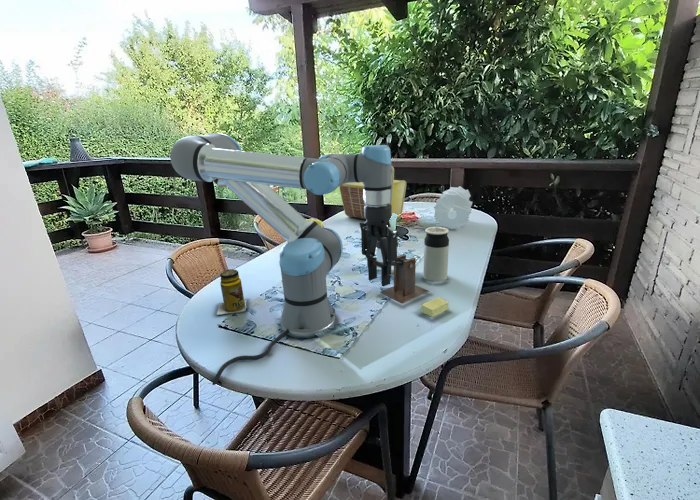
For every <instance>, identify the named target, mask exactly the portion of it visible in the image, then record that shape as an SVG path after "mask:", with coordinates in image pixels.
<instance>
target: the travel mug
mask: <svg viewBox="0 0 700 500" xmlns="http://www.w3.org/2000/svg"><path fill="white" fill-rule="evenodd" d="M424 231H425V233H426V235H425V237H424V241H423V273H422V274H423V275H422V277H423V278H424V279H425V280H426V281H430V282H438V283H439V282H444V281H446V280H447V279H448V271H449V269H448V268H449V249H450V239H449V236H448V233H449V232H450V231H449V228H447V227H444V228H443V226H429V227H427V228H425V230H424Z"/></svg>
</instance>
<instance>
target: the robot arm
mask: <svg viewBox="0 0 700 500" xmlns="http://www.w3.org/2000/svg"><path fill="white" fill-rule="evenodd" d="M391 153H392V152H391V148H390V146H389V145H387V144H373V145H372V144H371V145H370V144H369V145H364V146H363V147H362V148H361V153H330V154H322V155H320V156H319V157H318V158H314V157H313V158H312V157H304V156H302V157H301V156H293V155H285V154H284V155H282V154H273V153H263V152H254V151H243V150H242V148H241V146H240V144H239V143H238V141H236V139H235V138H233V137H231V136H230V135H229V134H224V133H219V132H212V133H207V134H199V135H198V134H197V135H187V136H184V137H182V138H179V139H178V140H177V141H176V142H174V144H173V145H172V147H171V149H170V153H169V154H170V155H169V159H170V163H171V166H172V168H173V169H174V171H175V172H176V173H177V174H178V175H179V176H180V177H182V178H184V179H186V180H189V181H198V182H206V183H211V182H213V183H214V184H215V185H216V186H217V187H219V188H228V189H229V191H231V192H232V194H234V195H235V196H236V197H237V198H238V199H240V200H241V201H242V202H243V203H244V204H245V205H246V206H248V207H249V208H250V210H252V211H253V212H254V213H255V214H256V215H257V216H259V218H261V220H263V221H264V222H265V223H266V224H267V225H268V226H269V227H270V228H272V229H273V230H274V231H275V232H276V233H277V234H279V235H280V236H281V237H282V238H283V239H284V240H285V241H286V242H287V243H285V244H284V245H282V247H281V248H280V251H279V262H278V263H279V268H280V274H281V282H282V283H281V284H282V290H283V299H284V303H283V307H282V312H281V316H280V320H279V321H280V328H281V329H280V330H281V331H282V332H281V333H280V334H279V335H278V336H276V337H275V338H274V339H273V340H272V341H271V342H270V343H269V344H268V346H267V347H266V349H265V350H264V351H263V352H262V353H259V354H257V355H256V354H255V355H237V356H235V357H233V358H231V359H229V360H227V361H226V362H224V363H223V364H222V365H221V366H220V367H219V369H218V371H217V372H216V374H215V376H214V378H213V381H212V383H211V385H212V386H215V385H217V384H218V382H219V380H220V378H221V375H222V374H223V372H224V370H225V369H226V368H228V366H230V365H232V364H234V363H237V362H239V361H256V360H260V359H263V358H265V357H266V356H268V355H269V353H270V351H271V350H272V348H273V347H274V346H275V345H276V344H277V343H278V342H279V341H280V340H281V339H283V338H284V337H286V336H289V337H291V338H295V339H312V338H317V337H318V335H317V334H319V333H322V332H324V331H327V330H328V329H329V328H331V327H332V326H333V325H334V323H335V322H336V309H335V308H334V307H333V305H332V304H331V302H330V299H329V297H328V290H327V287H328V286H327V276H328V274H330V272H331V271H332V270H333V268H334V267H335V266H336V265H337V264H338V263H339V261H340V259H341V257H342V254H343V250H344V246H343V245H344V244H343V240H342V239H341V236H340V235H339V233H338V232H336V231H335V230H334V229H332V228H330V227H325V228H324V227H321V226H320V225H319V224H318V223H317V222H316V221H314V220H312V221H308V220H306V219H307V218H305V217H304V216H303V215H301V213H299V211H298V210H296V209H295V208H294V207H293V206H292V205H291V204H290V203H288V201H286V200H285V199H284V198H283V197H282V196H281V195H279V194H278V193H277V191H275V190H274V189H273V188H272V187H271V186H274V187H282V188H283V187H284V188H292V189H300V190H307V191H309V192H310V193H312V194H313V195H317V196H324V195H329V194H331V193H332V192H334V191H335V190H336V189H337V188H339V186H340V185H342V184H343V183H352V182H357V183H360V182H363V194H364V203H365V204H366V205H365V206H364V217H365V219H364V220H366V221H363V222H362V221H361V222H360V223H359V227H360V240H361V255H362V256H365V258H366V266H367V273H368V275H367V276H368V281H372V280H375V279H377V278H378V270H377V266H375V265H373V264H371V261H372V260H376V261H377V258H376V257H375V256H376V254H375V250H376V244H377V241H378V242H379V243H380V249H381V254H382V259H383V264H381V270H380V272H381V287H383V288H384V287H386V286H388V285H391V275H392V270H391V265H392V264H395V263H397V247H398V244H397V241H398V235H399V230H398V229H394V228H393V227H392V226H391V222H390V221H389V220H390V218H391V216H392V206H391V204H390V203H391V175H392V169H391V165H393V164H392V163H393V162H392V154H391ZM383 237H384V238H383ZM387 260H388V261H387Z"/></svg>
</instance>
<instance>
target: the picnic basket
mask: <svg viewBox="0 0 700 500" xmlns="http://www.w3.org/2000/svg"><path fill="white" fill-rule="evenodd" d="M338 189H339V193H340V198H341V202H342V206H343V211H344V214H345V216H347V217H348V218H349V217H351V218H352V217H353V218H357V219H362V220H366V219H365V217H364V206H365V205H366V204H365V203H364V194H363V182H360V183H357V182H352V183H343V184H342V185H340V186H339V187H338ZM406 190H407V181H406V180H400V179H399V180H398V179H395V167H394V166H393V164H391V203H390V204H391V206H392V213H395V214H397V215H399V214H401V213H402V214H403V211H404V210H403V209H404V203H405V196H406ZM402 214H401V215H402ZM400 217H401V216H398V217H397V218H396V219H398V218H400Z"/></svg>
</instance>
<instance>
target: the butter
mask: <svg viewBox="0 0 700 500" xmlns="http://www.w3.org/2000/svg"><path fill="white" fill-rule="evenodd" d="M449 304H450V302H449V301H448V300H445V299H443V298H441V297H439V296H437V297H434V298H433V299H430V300H428V301H426V302H424V303H423V304H421V307H420V308H421V313H423V314H424V315H427V316H429V317H430V318H434V317H436V316H437V315H439V314H441V313H443V312H445V311H447V310H449V306H450V305H449Z"/></svg>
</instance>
